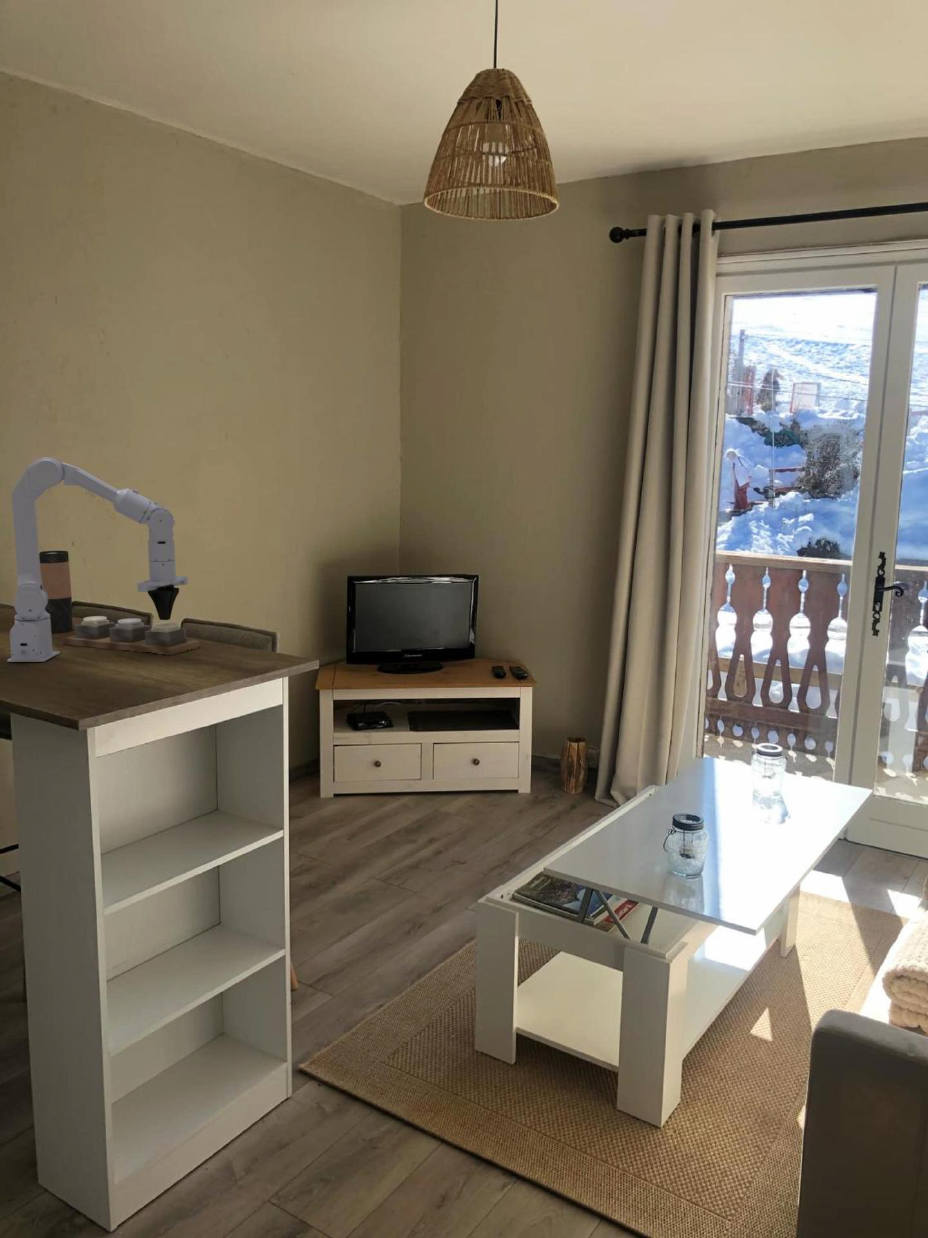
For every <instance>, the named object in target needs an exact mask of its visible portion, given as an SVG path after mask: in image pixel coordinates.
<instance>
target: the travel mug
mask: <svg viewBox="0 0 928 1238" xmlns="http://www.w3.org/2000/svg"><path fill="white" fill-rule="evenodd" d="M69 557H70V556H69V551H68V550H67V551H66V550H42V551H39V558H40V571H41V577H42V585H43V588H44V590H45V591H46V593H47V595H48V603H47V605H46V607H45V610H46V612H47V613H49V614H50V621H51V634H60V633H68V632H72V631H73V598H72V585H71V584H72V583H71V571H70V559H69Z"/></svg>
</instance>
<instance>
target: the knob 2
mask: <svg viewBox="0 0 928 1238" xmlns="http://www.w3.org/2000/svg"><path fill="white" fill-rule="evenodd" d="M144 625H145V624H144V622H142V619H141V618H131V617H130V618H122V619H118V620H117V623H116V628H120V629H135V628H139V627H144Z"/></svg>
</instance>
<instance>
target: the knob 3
mask: <svg viewBox="0 0 928 1238" xmlns="http://www.w3.org/2000/svg"><path fill="white" fill-rule="evenodd" d="M180 628H181V627H180V626H178V623H177V622H172V621H166V622H165V621H164V622H162V621H161V622H156V623H153V627H152V628H151V627H150V630H151V631H153V632H164V633H168V632H172V631H176V630H180Z"/></svg>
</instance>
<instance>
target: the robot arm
mask: <svg viewBox="0 0 928 1238" xmlns="http://www.w3.org/2000/svg"><path fill="white" fill-rule="evenodd" d="M62 481H63V484H62V485H63V486H78V487H80V488H82V489H84V490H87V491H88V492H91V493H92V494H95V495H96V496H99V497H101V498H102V499H104V500H107V501H109V502H111V503H112V506H113V509H114V511H115V512H117V513H118V514H119V515H122V516H124V517H126V518H128V519H130V520H131V521H132V520H133V521H134V522H136V523H138V524H140V525H144V524H146V525H147V528H148V540H147V549H148V550H147V551H148V568H149V569H148V570H149V573H148V574H149V579H147V580H144V581H141V582H137V583H136V584H137V585H136V586H137V592H138V593H139V592H140V593H147V595H148V596H149V597H150V599H151V601H152V602H153V604H154V607H155V610H156V612H157V617H158V619H159V620H160V621H169V620H171V617H172V612H173V608H174V604H175V601H176V599H177V596H178V595H179V594H180V588H179V587H176V586H186V585H188V576H186V575H177V573H176V553H175V552H176V550H175V547H176V546H175V539H174V533H175V532H174V531H173V528H174V527H175V522H176V521H175V519H174V516H173V514H172V512H171V511H170V510H169V509H168V508H166V507H165V506H163V505H158V504H159V502H158V501H157V500H153V501H152V500H150V499H149V498H147V497H146V496H143V495H141V494H140V493H139V492H140V490H138V489H135V488H132V489H130V488H128V487H126V488H123V489H118V488H116V487H114V486H112V485H110V484H108V483H106V482H105V481H103V480H101V479H99V478H98V477H96V476H94V475H92V474H91V473H89V472H87V471H85V470H84V469H81V467H78V466H75V465H73V464H69V463H67V462H64V461H62V462H61V460H58V459H57V458H55V457H50V456H48V457H47V456H46V457H40V458H38V459H36V460H35V461H34V462H33V463H31V464H30V465H28V466H27V467H26V468H25V470H24V472H23V474H22V475H21V476H20V478H19V480H18V482H17V483H16V485H15V486H14V488H13V489H12V491H11V494H10V495H11V505H12V506H11V507H12V519H13V520H12V521H13V531H14V532H13V533H14V544H15V557H16V568H17V570H16V571H17V585H16V586H17V587H16V589H17V592H16V596H15V598H14V601H13V607H14V610H15V612H16V614H15V615H14V624H13V626H12V627H11V629H10V630H9V645H10V646H9V647H10V658H8V659H6V662H7V663H21V662H22V663H25V662H26V663H27V662H29V663H31V662H32V663H35V662H36V663H38V662H42V663H44V662H46V661H47V660H50V659H52V658H54V657H56V656H57V655H59V654H60V653H61V651H60V650H59V651H58V650H57V651H55V650H54V651H53V639H52V633H51V621H50V614H49V613H47V612H46V610H45V607H46V605H47V603H48V595H47V593H46V591H45V590H44V588H43V585H42V577H41V571H40V558H39V553H40V547H39V546H40V545H39V536H38V522H37V521H38V518H37V509H36V508H37V507H36V501H37V500H38V499H39V498H40V497H41V496H42V495H43V494H44V493H45V492H46V491H47V490H50V489H51V488H53V487H55V486H57V485H59V484H60V483H61V482H62Z"/></svg>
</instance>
